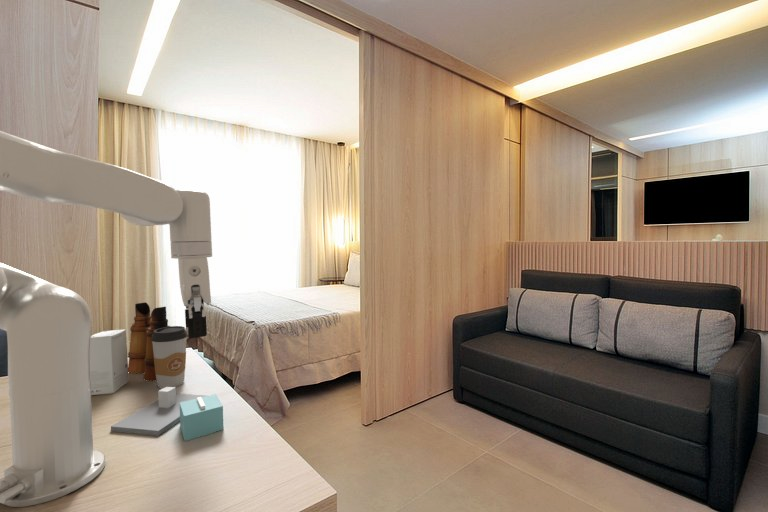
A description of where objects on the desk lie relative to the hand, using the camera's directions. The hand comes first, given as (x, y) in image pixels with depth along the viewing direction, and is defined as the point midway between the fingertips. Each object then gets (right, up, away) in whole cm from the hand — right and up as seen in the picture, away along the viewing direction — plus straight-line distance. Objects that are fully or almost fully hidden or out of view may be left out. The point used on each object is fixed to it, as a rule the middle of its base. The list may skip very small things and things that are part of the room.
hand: (195, 331), depth 74 cm
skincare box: (-33, -19, +18) cm, 42 cm away
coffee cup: (-18, -19, +21) cm, 34 cm away
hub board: (-10, -20, +5) cm, 22 cm away
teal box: (+2, -20, -1) cm, 20 cm away
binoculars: (-29, -19, +30) cm, 46 cm away
